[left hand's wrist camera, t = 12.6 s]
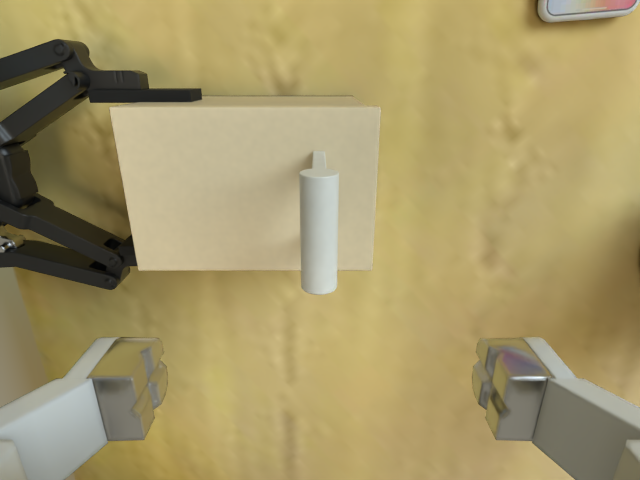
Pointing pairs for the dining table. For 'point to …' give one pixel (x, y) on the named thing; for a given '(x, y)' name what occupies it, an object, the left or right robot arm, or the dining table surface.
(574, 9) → the smartphone
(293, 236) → the lid
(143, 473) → the dining table surface
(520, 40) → the dining table surface
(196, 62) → the dining table surface
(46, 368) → the dining table surface
